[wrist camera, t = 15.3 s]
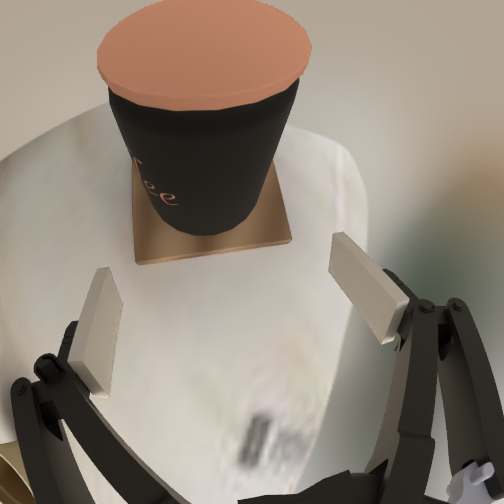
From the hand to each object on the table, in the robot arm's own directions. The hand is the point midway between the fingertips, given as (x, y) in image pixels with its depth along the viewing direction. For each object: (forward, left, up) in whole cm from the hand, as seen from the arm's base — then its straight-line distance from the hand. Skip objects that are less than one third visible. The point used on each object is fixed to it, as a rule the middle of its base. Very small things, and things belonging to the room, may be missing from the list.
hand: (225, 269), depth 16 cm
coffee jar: (0, +10, -10) cm, 14 cm away
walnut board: (0, +10, -11) cm, 15 cm away
